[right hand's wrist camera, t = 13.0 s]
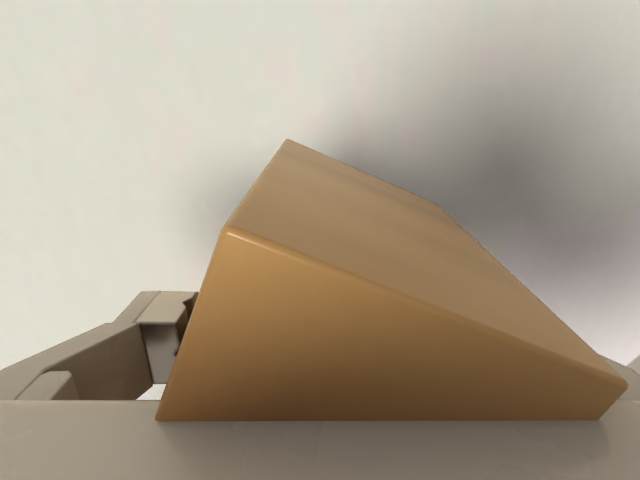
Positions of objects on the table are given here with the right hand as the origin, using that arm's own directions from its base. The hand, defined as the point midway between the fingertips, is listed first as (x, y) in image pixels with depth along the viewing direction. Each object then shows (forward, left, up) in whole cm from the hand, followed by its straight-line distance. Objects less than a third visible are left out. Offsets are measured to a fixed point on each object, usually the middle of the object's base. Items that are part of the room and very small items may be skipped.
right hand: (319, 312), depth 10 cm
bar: (+3, +7, -3) cm, 8 cm away
